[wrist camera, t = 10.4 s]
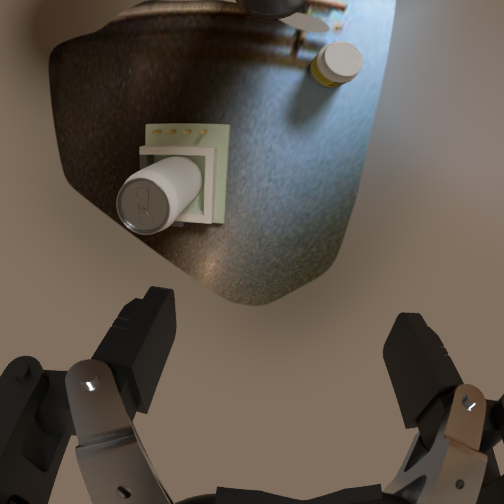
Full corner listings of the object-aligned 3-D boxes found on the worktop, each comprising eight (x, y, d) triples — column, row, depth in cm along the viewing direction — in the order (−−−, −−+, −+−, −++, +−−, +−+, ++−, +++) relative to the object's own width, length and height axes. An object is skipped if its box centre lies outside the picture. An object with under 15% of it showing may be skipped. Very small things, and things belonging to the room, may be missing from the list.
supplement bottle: (325, 95, 31) (340, 88, 24) (301, 66, 30) (309, 51, 22) (353, 76, 30) (375, 66, 22) (330, 48, 28) (346, 30, 21)
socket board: (149, 124, 34) (138, 125, 31) (230, 124, 34) (226, 125, 31) (150, 214, 40) (140, 223, 37) (225, 220, 40) (221, 230, 36)
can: (157, 202, 38) (116, 237, 27) (155, 155, 35) (109, 174, 24) (203, 203, 37) (176, 241, 27) (203, 154, 34) (172, 172, 24)
